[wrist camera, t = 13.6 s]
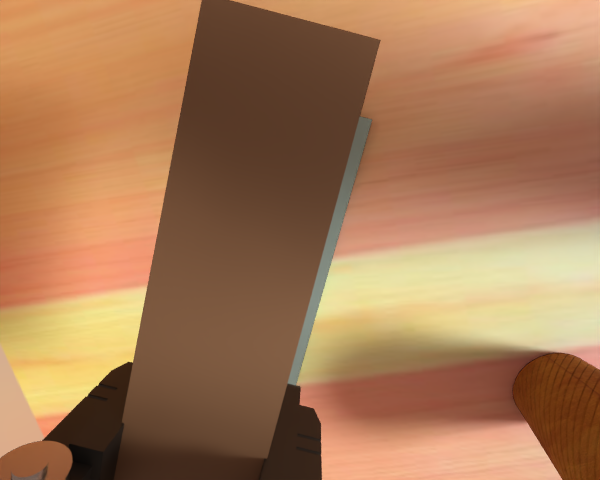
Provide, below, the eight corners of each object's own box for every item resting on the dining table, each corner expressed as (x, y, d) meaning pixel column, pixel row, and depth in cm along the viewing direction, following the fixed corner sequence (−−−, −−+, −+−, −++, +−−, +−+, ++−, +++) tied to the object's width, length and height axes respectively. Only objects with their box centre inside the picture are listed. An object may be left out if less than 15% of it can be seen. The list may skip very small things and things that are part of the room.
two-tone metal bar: (250, 83, 11) (199, -10, 6) (349, 109, 11) (383, 39, 6) (151, 539, 14) (56, 747, 9) (230, 559, 14) (183, 777, 9)
